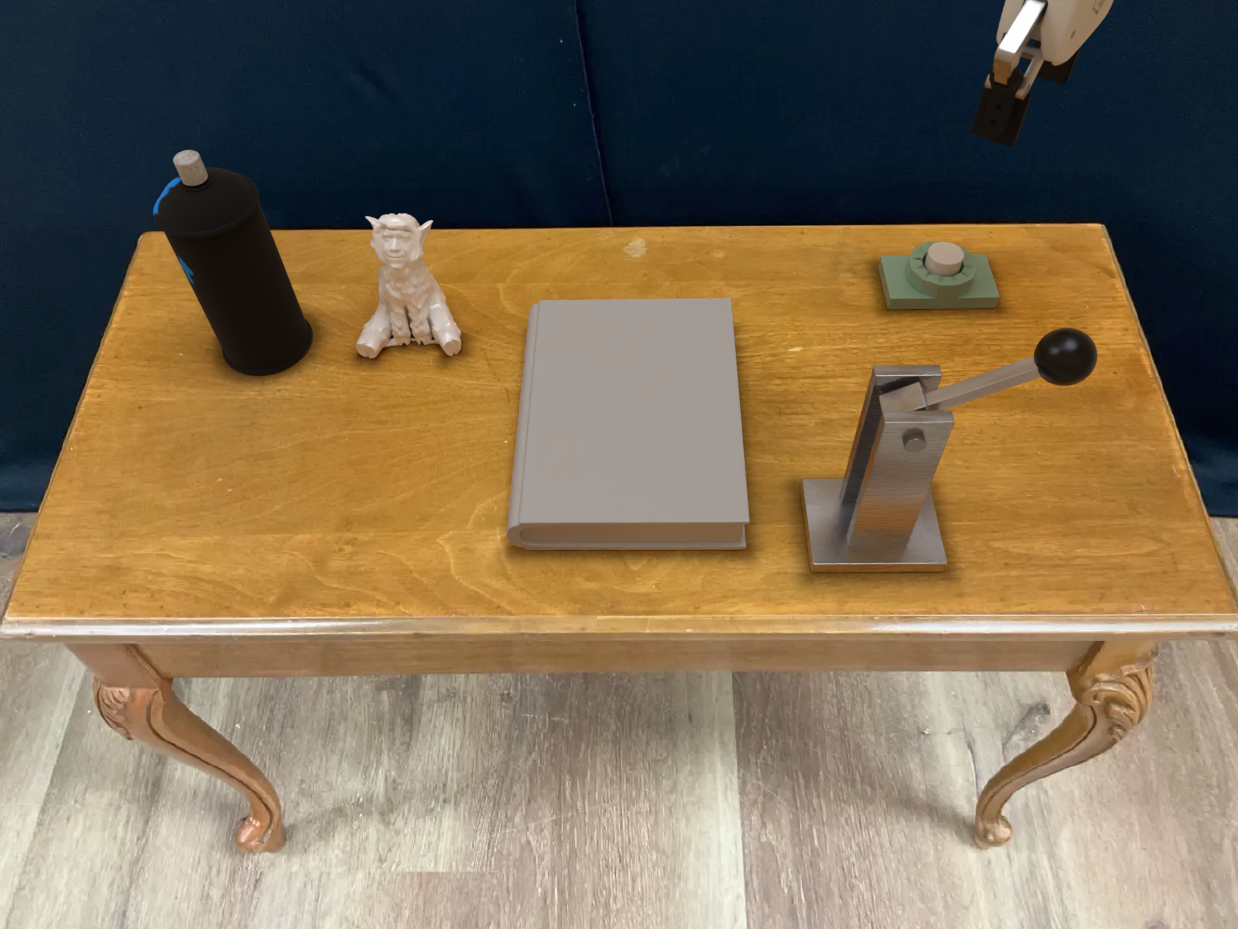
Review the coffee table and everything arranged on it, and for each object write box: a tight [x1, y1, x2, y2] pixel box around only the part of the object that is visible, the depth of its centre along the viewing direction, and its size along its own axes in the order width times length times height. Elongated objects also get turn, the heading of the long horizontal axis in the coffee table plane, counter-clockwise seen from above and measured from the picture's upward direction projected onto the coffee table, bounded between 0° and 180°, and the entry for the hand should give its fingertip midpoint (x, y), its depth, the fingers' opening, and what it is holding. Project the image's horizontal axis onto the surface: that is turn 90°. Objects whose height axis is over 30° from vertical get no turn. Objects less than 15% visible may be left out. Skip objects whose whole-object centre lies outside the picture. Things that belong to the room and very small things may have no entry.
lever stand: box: [799, 364, 956, 573], centre depth 69 cm, size 10×8×16 cm
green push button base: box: [877, 240, 1001, 310], centre depth 90 cm, size 10×6×3 cm, turn 89°
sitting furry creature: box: [354, 212, 462, 360], centre depth 85 cm, size 10×9×12 cm
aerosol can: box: [152, 149, 313, 376], centre depth 81 cm, size 8×8×20 cm
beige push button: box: [925, 241, 964, 277], centre depth 89 cm, size 3×3×2 cm
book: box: [505, 297, 750, 551], centre depth 80 cm, size 18×4×24 cm
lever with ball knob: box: [879, 327, 1098, 413], centre depth 62 cm, size 13×4×4 cm, turn 90°
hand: (1020, 106), depth 72 cm, fingers open, 9 cm apart
